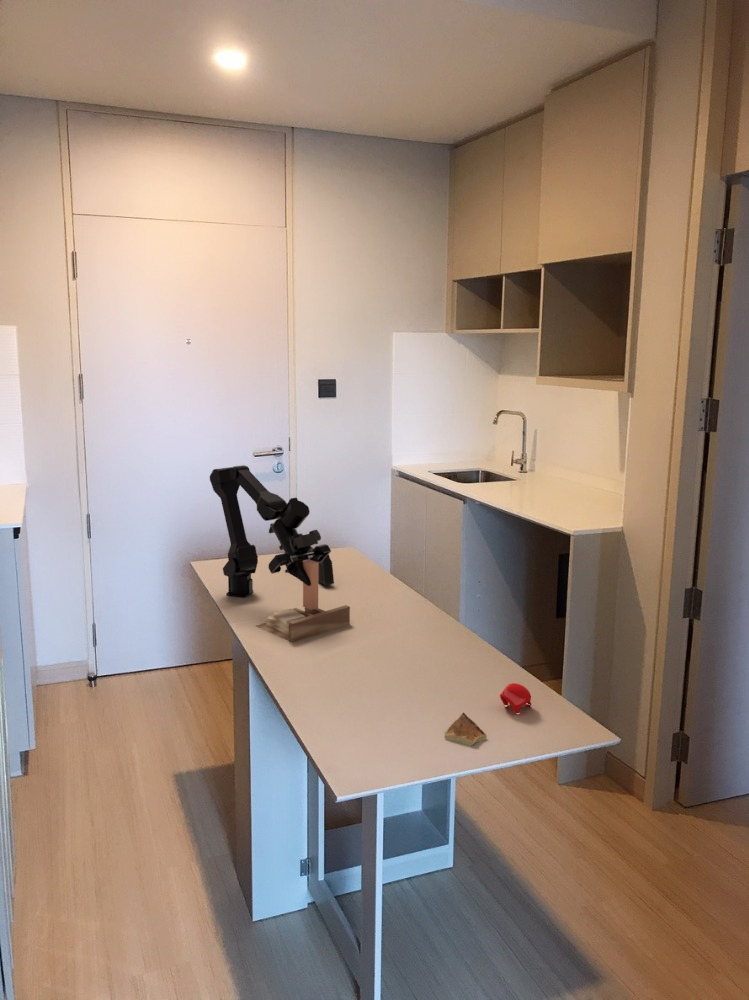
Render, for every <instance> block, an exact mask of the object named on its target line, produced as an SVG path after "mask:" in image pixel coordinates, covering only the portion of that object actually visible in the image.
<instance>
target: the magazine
mask: <svg viewBox="0 0 749 1000" xmlns="http://www.w3.org/2000/svg"><path fill="white" fill-rule="evenodd" d="M314 548H315V547H314ZM314 548H313V547H312V548H311V549H310V550H308V552H311V551H312V550H313V549H314ZM302 563H303V561H302ZM318 563H319V569H318V577H319V583H320V584H323V585H326V586H330V585H334V584H335V579H334V569H333V568H334V567H333V561H332V559H331V557H330V553H329V554H328V556H327V557H326V558H325V559H324V560H323V561H321V562H318Z"/></svg>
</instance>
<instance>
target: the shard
mask: <svg viewBox="0 0 749 1000" xmlns="http://www.w3.org/2000/svg"><path fill="white" fill-rule="evenodd" d="M487 737H488V736H487V734H486V733H485V732H484V731H483V729H481V728H480V727H479V726H478V724H477V723H475V722H474V721H473V720H472V719H471V718H470V717H469V716H468V715H467V714H466V713H465V712H462V713H461V715H459V717H458V718H457V719H456V720H455V721H454V722H453V723H452V724H451V725H450V726H449V727H448V729H447V730H446V732H445V734H444V739H445V740H447V741H451V742H456V743H460V744H463V745H467V746H469V747H471V746H472V745H474V744H475V743H477V742H480V741H484V740H486V739H487Z"/></svg>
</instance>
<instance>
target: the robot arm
mask: <svg viewBox="0 0 749 1000" xmlns="http://www.w3.org/2000/svg"><path fill="white" fill-rule="evenodd" d="M209 482H210V484H211V488H212V491H213V492H214V493H215V494H216V495H217V496H218V497H219V498H220V503H221V506H222V510H223V514H224V520H225V524H226V528H227V533H228V538H229V541H230V545H229V549H228V551H227V552H228V553H227V562H226V563H225V564H224V566H223V567H222V572H223V576H225V577H227V579H228V582H227V583H228V586H227V589H228V591H227V592H226V593H225V594H226V596H229V597H231V596H232V597H240V598H246V597H248V596H249V595H250V594H252V593H253V592H254V589H253V587H254V586H253V585H254V584H253V581H254V580H253V578H252V574H256V570H257V567H258V564H259V560H258V558H259V556H258V553H257V550H256V549H257V548H256V545H255V544H251V543H250V542H249V541H248V538H247V533H246V530H245V527H244V526H245V525H244V522H243V521H244V520H243V517H242V512H241V507H240V503H239V499H238V491H239V489H240V487H241V488H242V490H244V491H245V492H246V494H247V495H248V496H249V497H250V498H251V499H252V500H253V502H254V503H255V504H256V511H257V513H258V515H259V516H260V517H261V519H263V520H264V521H265V522H267V521H272V520H273V521H274V520H275V521H274V522H273V523H270V524H269V529H268V533H269V534H275V537H276V538H277V540H278V542H279V544H280V546H279V547H278V548H279V550H280V551H283V553H281V554H280V553H279V554H276V555H274V556H273V558H272V559H271V561H270V562H269V563H268V570H269V572H270V574H278V573H280V572H281V569H282V566H285V568H286V569H285V570H284V572H285V574H289V575H291V576H293V577H295V578H296V579H297V580H299V581H300V582H302V584H303V583H305V584H306V585H308V586H310V585H311V582H310V579H309V577H308V575H307V573H306V572H305V570H304V568H303V563H302V561H307V560H312V561H315V562H321V561H323V560H324V559H325V558H326V557H327V556H328V554H329V555H330V553H331V552H332V549H331V548H330V547H329V545H328V544H320V545H318V544H319V541H321V539H322V536H321V533H320V532H319V531H318V529H314V530H313V529H312V530H311V531H309V532H308V534H307V533H306V534H303V533H299V532H298V531H297V529H298V528H299V527H300V526H301V525H302V523H304V522H305V520H306V519H307V518H308V516H309V515H310V508H309V506H308V505H307V504H306V503H304V502H303V501H301V500H299V499H298V498H297V497H290V499H289V500H288V502H286V500H285V499H284V498H283V497H281V496H279V495H278V494H275V493H273V492H271V491H270V490H268V489H267V488H266V487H265V486H264V485H263V484H262V482H260V480H259V479H258V478H257V477H256V475H254V474H253V473H252V471H251V470H250V468H249V466H247V465H245V464H244V465H243V464H242V465H236V466H234V465H233V466H232V467H223V468H222V467H221V468H214V469H213V470H212V471H211V473H210V475H209ZM315 545H316V546H315ZM313 546H315V547H314V549H313V550H312V551H311V552H308V550H310V549H311V548H313ZM319 583H320V582H319V577H318V584H319ZM247 595H248V596H247Z"/></svg>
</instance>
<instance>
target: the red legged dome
mask: <svg viewBox="0 0 749 1000" xmlns="http://www.w3.org/2000/svg"><path fill="white" fill-rule="evenodd" d="M499 698H500V700H501V702H502V703H503V706H504V705H508V706H509V705H510V706H511V708H512V709H513V711H514V712H515V714H516V713H519V712H520V710H519V709H520V708H522V707H524V706H525V705H527V704H526V703H528V704H530V705H531V706H532V702H531V701H532V695H531V693H530V691H529V689H527V687H526V686H524V685H523V684H520V683H516V682H515V683H513V682H512V683H509V684H507V685H506V686H505V688H504V689H503V690H502V692H501V693H500V694H499ZM520 713H521V712H520Z"/></svg>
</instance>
